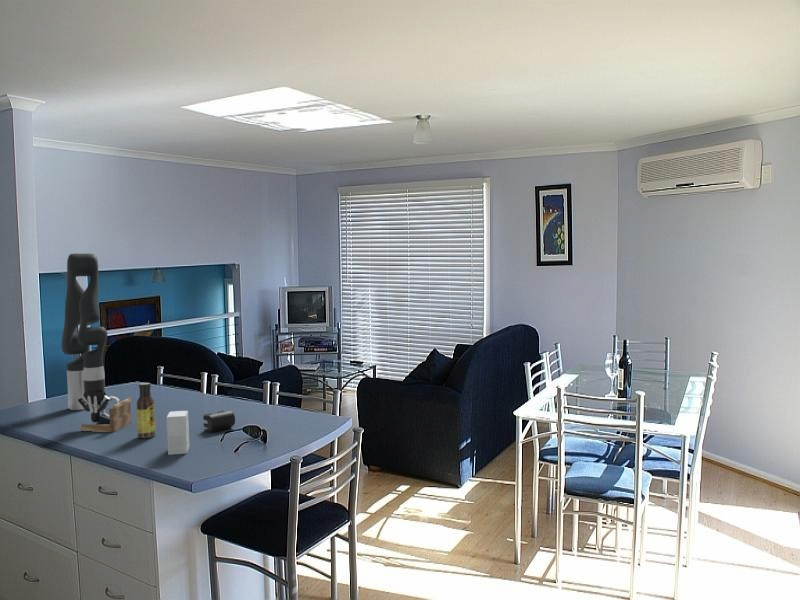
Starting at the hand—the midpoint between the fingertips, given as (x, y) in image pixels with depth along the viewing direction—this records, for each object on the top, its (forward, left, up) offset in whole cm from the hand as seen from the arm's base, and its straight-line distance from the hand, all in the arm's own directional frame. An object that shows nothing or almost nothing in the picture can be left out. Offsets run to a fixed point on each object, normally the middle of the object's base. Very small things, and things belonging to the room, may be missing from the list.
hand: (95, 421), depth 262 cm
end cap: (+3, +50, -3) cm, 50 cm away
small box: (+30, +45, -2) cm, 54 cm away
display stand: (0, +4, -2) cm, 5 cm away
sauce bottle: (+13, +26, -2) cm, 29 cm away
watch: (-3, +2, -2) cm, 4 cm away
